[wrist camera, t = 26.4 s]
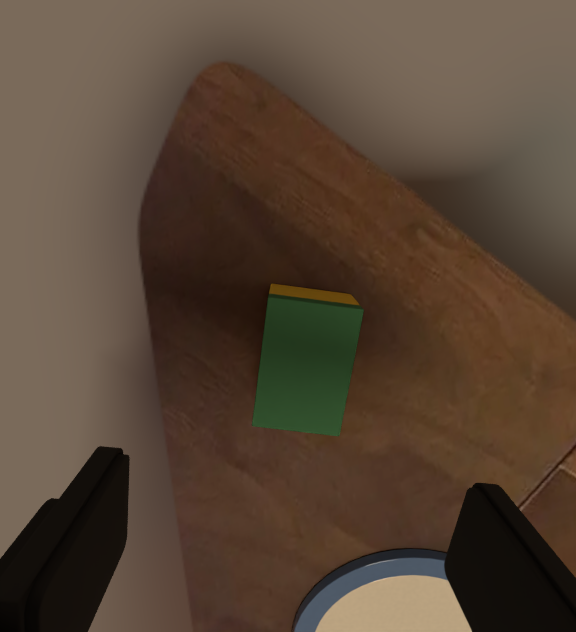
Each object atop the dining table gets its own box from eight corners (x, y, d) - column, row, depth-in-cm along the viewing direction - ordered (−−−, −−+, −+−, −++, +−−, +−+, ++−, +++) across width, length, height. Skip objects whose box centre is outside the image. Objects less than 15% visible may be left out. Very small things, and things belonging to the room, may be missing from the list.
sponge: (331, 402, 25) (339, 436, 21) (257, 393, 25) (251, 426, 21) (351, 294, 23) (364, 309, 19) (271, 283, 23) (267, 296, 19)
